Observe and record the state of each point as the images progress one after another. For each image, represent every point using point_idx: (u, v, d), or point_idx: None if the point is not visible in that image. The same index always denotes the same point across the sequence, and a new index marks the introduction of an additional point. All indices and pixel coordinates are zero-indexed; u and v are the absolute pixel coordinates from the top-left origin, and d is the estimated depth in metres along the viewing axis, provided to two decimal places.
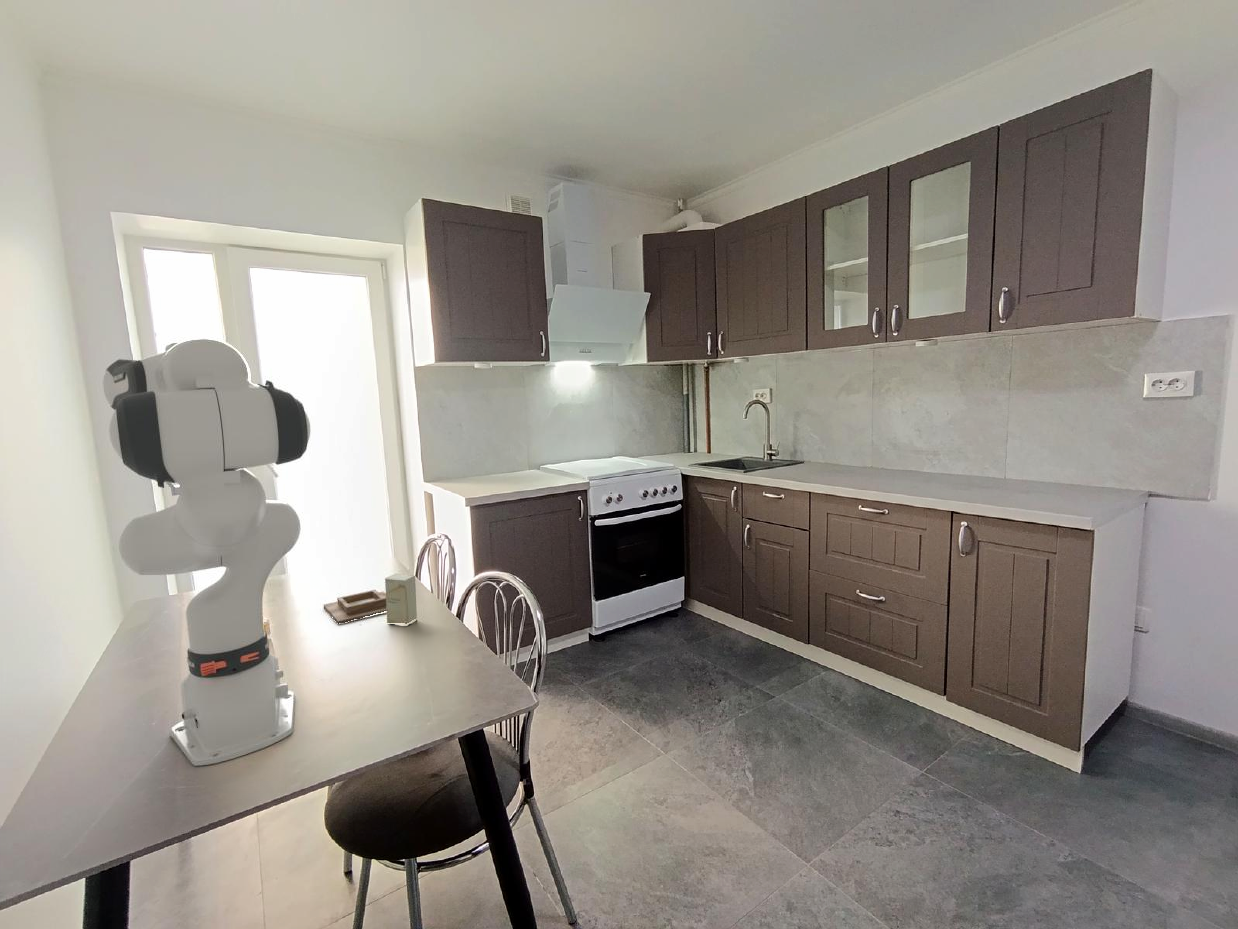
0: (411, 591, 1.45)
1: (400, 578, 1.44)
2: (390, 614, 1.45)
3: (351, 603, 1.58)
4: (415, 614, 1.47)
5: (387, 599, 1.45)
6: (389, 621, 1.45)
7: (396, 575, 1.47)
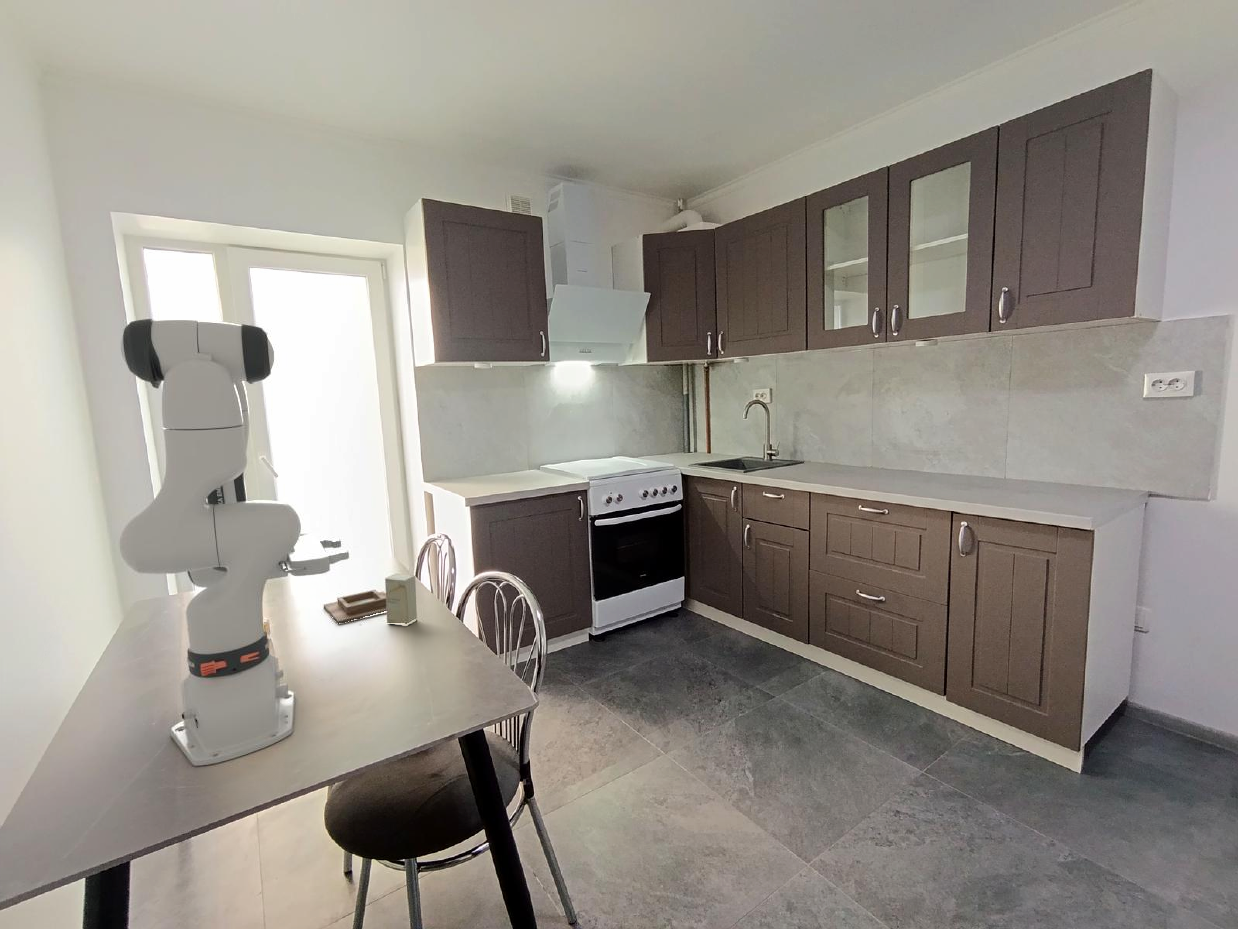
0: (412, 591, 1.45)
1: (400, 578, 1.44)
2: (390, 614, 1.45)
3: (351, 603, 1.58)
4: (415, 614, 1.47)
5: (387, 599, 1.45)
6: (389, 621, 1.45)
7: (396, 575, 1.47)
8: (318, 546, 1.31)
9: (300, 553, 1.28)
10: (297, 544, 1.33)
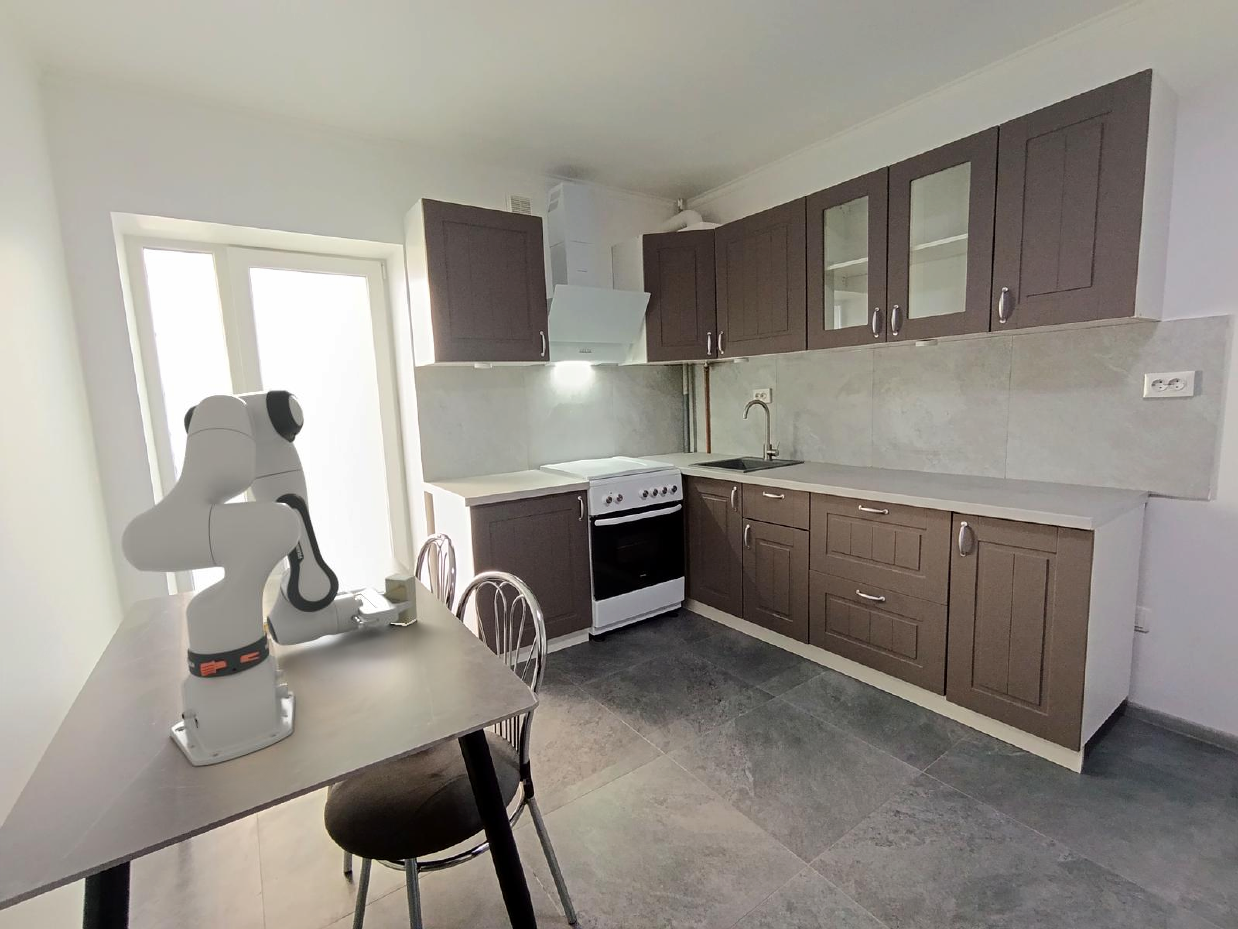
0: (411, 591, 1.45)
1: (400, 578, 1.44)
2: None
3: None
4: (415, 614, 1.47)
5: None
6: None
7: (396, 575, 1.47)
8: (383, 599, 1.41)
9: (369, 606, 1.38)
10: (362, 598, 1.43)
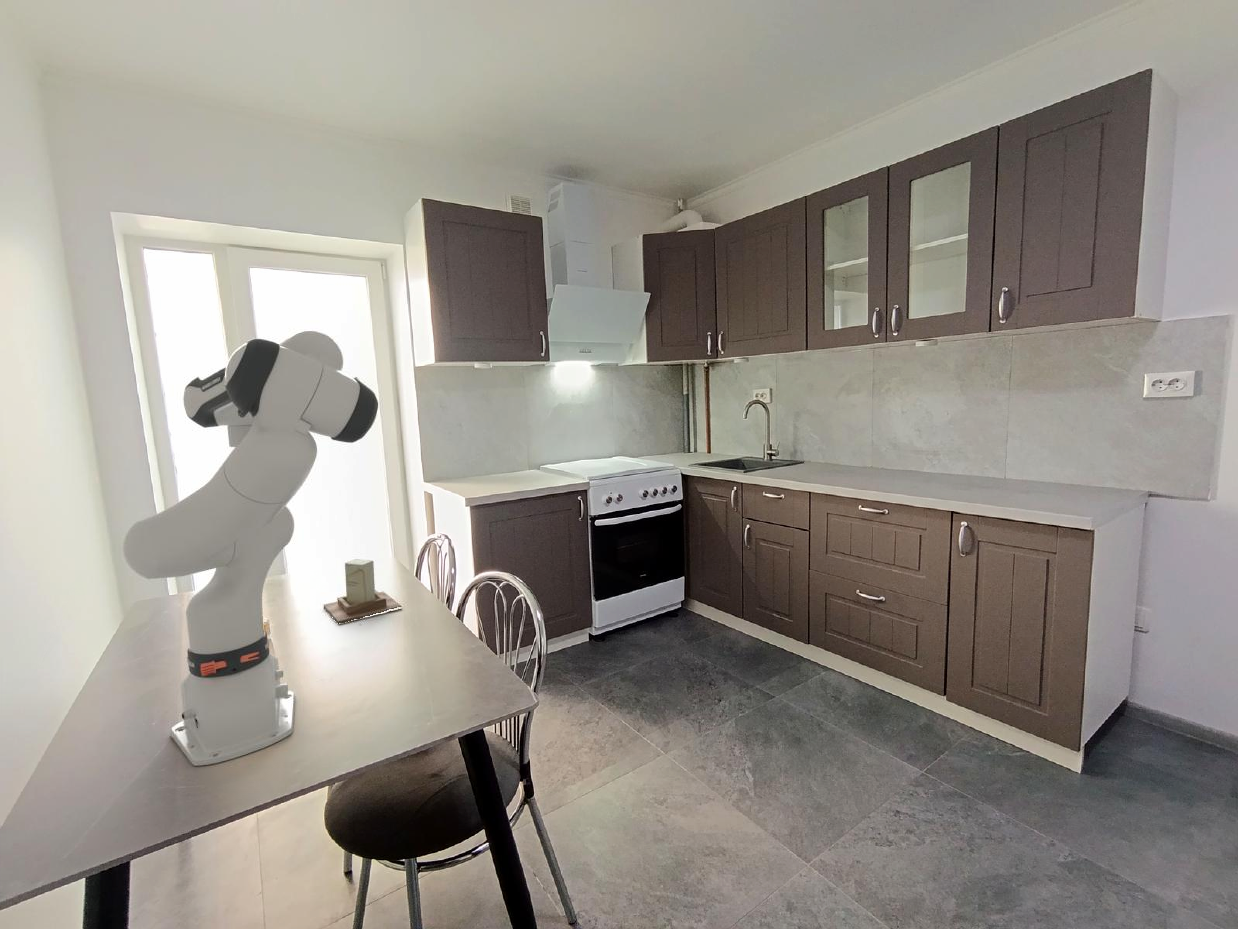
0: (370, 575, 1.56)
1: (358, 563, 1.55)
2: (349, 596, 1.55)
3: None
4: (373, 596, 1.57)
5: (347, 582, 1.55)
6: (349, 603, 1.56)
7: (356, 560, 1.57)
8: None
9: None
10: None
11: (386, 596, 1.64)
